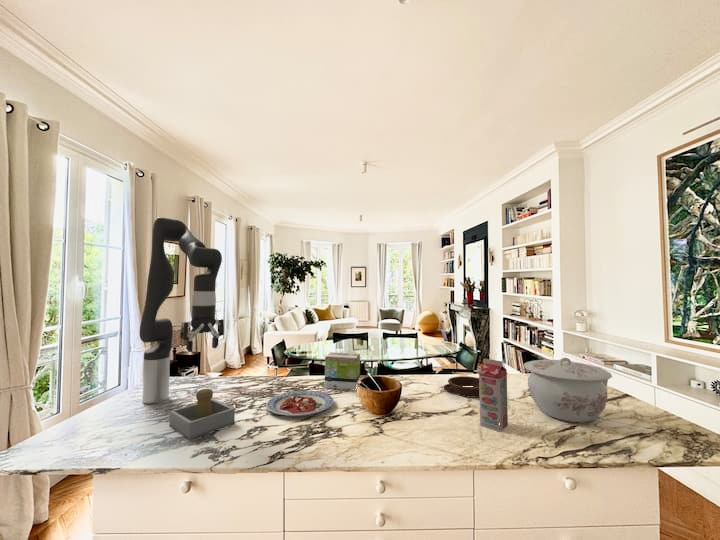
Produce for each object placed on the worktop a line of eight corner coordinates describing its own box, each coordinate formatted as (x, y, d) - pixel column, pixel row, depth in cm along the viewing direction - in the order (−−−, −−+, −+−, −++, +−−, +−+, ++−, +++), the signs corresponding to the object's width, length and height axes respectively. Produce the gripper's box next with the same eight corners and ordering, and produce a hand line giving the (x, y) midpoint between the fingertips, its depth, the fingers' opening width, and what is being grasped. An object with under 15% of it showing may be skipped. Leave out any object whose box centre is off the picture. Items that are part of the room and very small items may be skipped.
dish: (503, 399, 135) (502, 387, 135) (450, 400, 134) (450, 388, 134) (485, 386, 152) (484, 375, 152) (438, 387, 151) (438, 376, 151)
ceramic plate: (251, 414, 119) (251, 406, 120) (291, 392, 143) (291, 386, 143) (312, 425, 110) (312, 416, 110) (344, 400, 134) (344, 393, 134)
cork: (217, 420, 113) (218, 387, 113) (204, 427, 107) (204, 393, 107) (204, 417, 115) (204, 386, 115) (189, 424, 109) (190, 391, 109)
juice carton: (488, 419, 114) (487, 356, 115) (507, 425, 109) (506, 359, 110) (479, 425, 109) (478, 359, 110) (499, 432, 105) (498, 363, 106)
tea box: (324, 389, 148) (324, 356, 149) (329, 382, 158) (330, 351, 158) (356, 390, 145) (356, 357, 146) (360, 384, 155) (360, 352, 156)
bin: (169, 426, 109) (169, 411, 109) (213, 412, 121) (213, 398, 121) (188, 439, 100) (189, 423, 100) (234, 423, 111) (234, 408, 111)
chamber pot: (523, 421, 112) (522, 361, 113) (524, 397, 137) (523, 347, 138) (625, 439, 99) (623, 371, 100) (606, 409, 124) (605, 354, 125)
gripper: (218, 302, 123) (217, 345, 123) (178, 304, 112) (176, 351, 112) (228, 303, 118) (226, 348, 118) (187, 305, 107) (185, 354, 107)
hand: (202, 349), depth 115 cm, fingers open, 8 cm apart
